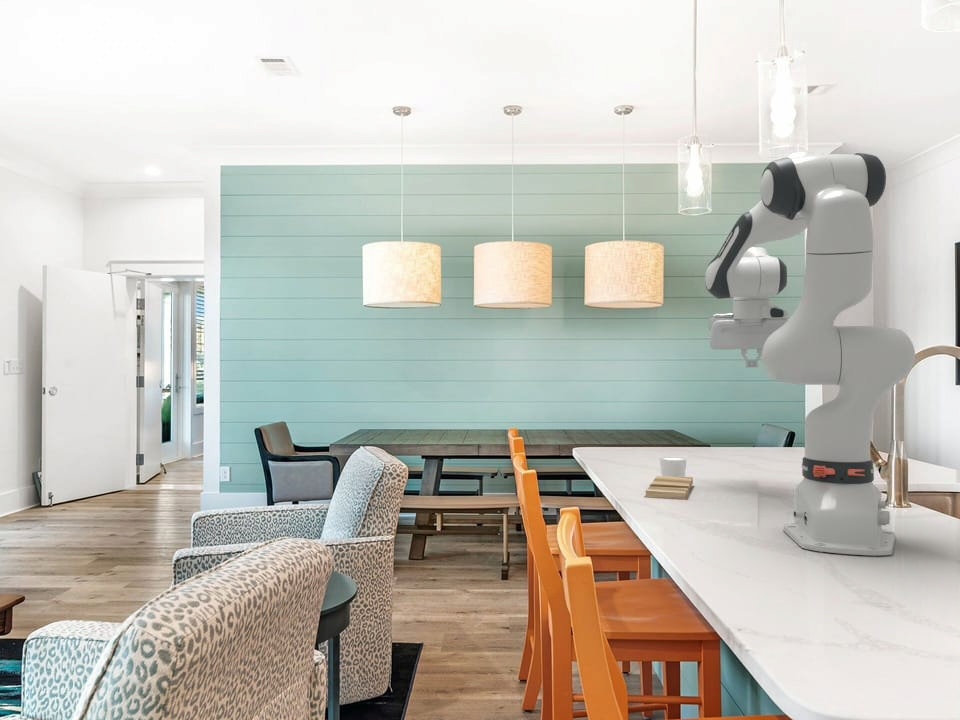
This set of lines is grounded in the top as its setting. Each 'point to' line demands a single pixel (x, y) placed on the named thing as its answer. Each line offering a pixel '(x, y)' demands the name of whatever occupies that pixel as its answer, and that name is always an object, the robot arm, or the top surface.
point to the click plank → (673, 481)
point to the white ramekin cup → (673, 466)
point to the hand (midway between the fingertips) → (752, 367)
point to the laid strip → (667, 492)
